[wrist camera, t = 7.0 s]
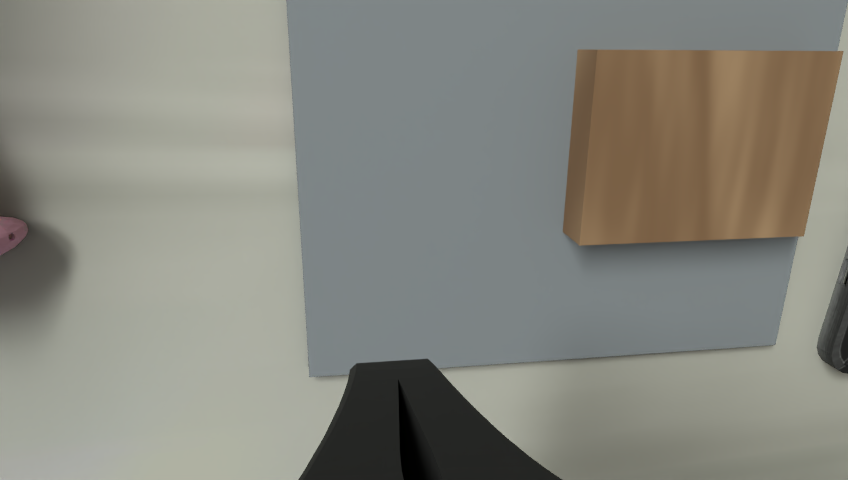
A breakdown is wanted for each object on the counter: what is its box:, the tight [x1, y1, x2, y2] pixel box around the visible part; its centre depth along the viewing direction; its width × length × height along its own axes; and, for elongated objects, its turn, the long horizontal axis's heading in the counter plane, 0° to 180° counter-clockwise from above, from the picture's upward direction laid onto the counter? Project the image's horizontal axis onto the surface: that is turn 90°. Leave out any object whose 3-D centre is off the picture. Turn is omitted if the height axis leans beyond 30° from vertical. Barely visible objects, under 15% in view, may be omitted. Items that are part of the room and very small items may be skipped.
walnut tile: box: [563, 49, 843, 246], centre depth 19 cm, size 2×6×8 cm
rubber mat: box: [286, 0, 848, 377], centre depth 20 cm, size 18×16×1 cm
